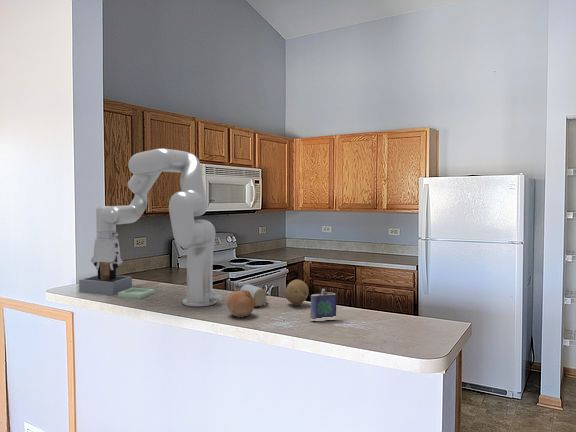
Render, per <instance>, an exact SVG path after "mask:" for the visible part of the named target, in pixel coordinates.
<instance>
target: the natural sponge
mask: <svg viewBox="0 0 576 432" xmlns="http://www.w3.org/2000/svg"><path fill="white" fill-rule="evenodd" d="M309 291H310V289H309V286H308V285H307V283H306V282H305V281H303V280H301V279H294V280H291V281H290V282H289V283H288V284H287V285H286V287H285V291H284V296H285V299H286V300H287V301H288V302H290V303H291V304H292V305H293V304H294V306H296V305H298V306H300V305H302V304H303V303H304V302H305V301H306V300H307V298H308V296H309V294H310V293H309ZM299 304H300V305H299Z"/></svg>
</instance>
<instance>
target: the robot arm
mask: <svg viewBox="0 0 576 432" xmlns="http://www.w3.org/2000/svg"><path fill="white" fill-rule="evenodd" d="M127 166H128V170H129V171H130V173H131V174H132V176H131V177H130V179H129V180H128V181H127V187H128V189H129V191H131V192H132V193H133V194H134V197H133V198H132V200H131V202H130V203H129V204H128V205H100V206H97V207H96V210H95V211H96V213H95V215H96V216H95V218H96V220H95V221H96V224H95V226H96V228H95V229H96V238H95V240H94V245H93V256H92V258H91V259H90V263H91V264H93V266H94V267H95V269H96V270H97V275H98V279H100V262H106V263H109V264H110V268H111V270H110V280H113V279H115V278H116V276H117V269H118V268H119V267H120V265H122V264H123V259H122V257H121V249H120V242H119V239H118V238H117V237H118V236H119V233H118V232H117V226H116V225H124V224H125V225H127V224H133V223H135V222H137V221H138V220H139V219H140V218H141V216H142V215H143V214H144V212H145V211H146V209H147V205H148V194H149V191H150V190H151V189H152V187H153V186H154V184H155V183H156V181H157V180H158V178H159V176H160V175H161V174H162V172H163V173H164V172H166V173H181V175H180V178H179V184H180V191H176V192H174V194H172V195H171V197H170V199H169V201H168V212H169V218H170V224H171V230H172V235H173V238H174V241H175V242H176V244H177V245H178V246H180V247H182V248H188V251H187V256H186V257H187V258H186V297H185V298H183V299H182V304H183V305H184V306H187V307H197V308H198V307H210V306H212V305H215V304H216V303H217V301H220V302H221V301H222V300H223V297H222V294H218V293H217V294H216V290H215V289H213V275H214V273H213V270H214V269H213V268H214V267H213V266H214V265H213V262H214V261H213V260H214V246H215V240H216V228H215V226H214V225H213V223H211V221H209V220H206V219H195V217H200V216H203V215H204V214H205V213H206V212H207V210H208V202H207V197H206V191H205V185H204V181H203V174H202V165H201V162H200V159H199V158H198V157H197V156H196V155H195V154H193V153H191V152H188V151H184V150H178V149H170V148H155V149H150V150H145V151H142V152H137V153H135V154H133V155H132V156H131V157H130V159H129V160H128V165H127Z"/></svg>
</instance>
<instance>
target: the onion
mask: <svg viewBox="0 0 576 432" xmlns="http://www.w3.org/2000/svg"><path fill="white" fill-rule="evenodd" d="M254 305H255V301H254V299H253V297H252V295H251V294H250V292H249V291H247V290H242V291H240V290H235V291H233V292H231V293H230V294H229V296H228V297H227V301H226V306H227V307H226V308H227V309H228V312H229V313H230V314H231V315H232V317H235V316H238V318H240V317H241V318H245V317H244V316H246V317H248V316H250V315H251V314H252V312H253V311H254V310H255V307H254Z"/></svg>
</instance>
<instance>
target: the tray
mask: <svg viewBox="0 0 576 432" xmlns="http://www.w3.org/2000/svg"><path fill="white" fill-rule="evenodd" d="M154 294H155V289H154V288H146V287H145V288H142V287H141V288H140V287H132V288H130V289H127V290H124V291H121V292H118V293H117V297H118V298H122V299H123V298H125V299H136V300H142V299H145V298H147V297H149V296H152V295H154Z"/></svg>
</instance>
